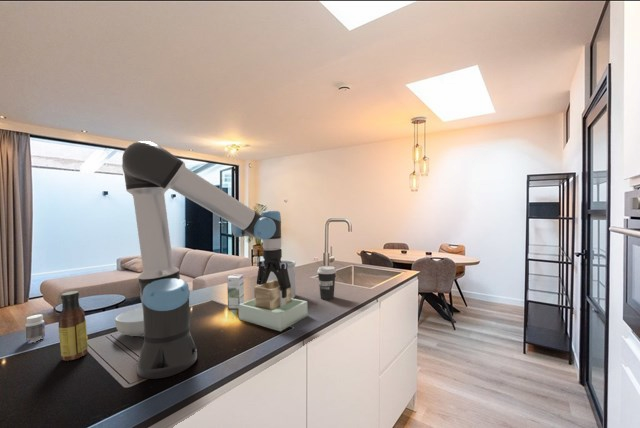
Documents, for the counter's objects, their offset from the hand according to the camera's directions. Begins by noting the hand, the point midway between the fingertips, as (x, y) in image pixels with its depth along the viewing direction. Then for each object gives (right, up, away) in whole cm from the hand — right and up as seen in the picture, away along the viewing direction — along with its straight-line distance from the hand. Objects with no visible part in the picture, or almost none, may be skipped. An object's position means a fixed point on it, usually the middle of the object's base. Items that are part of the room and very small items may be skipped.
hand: (273, 303), depth 114 cm
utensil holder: (-1, -5, +27) cm, 28 cm away
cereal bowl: (-46, -7, -12) cm, 48 cm away
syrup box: (-19, -6, +13) cm, 24 cm away
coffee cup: (+23, -5, +24) cm, 33 cm away
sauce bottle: (-56, -7, -29) cm, 64 cm away
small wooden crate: (0, 0, 0) cm, 0 cm away
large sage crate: (0, -6, 0) cm, 6 cm away
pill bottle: (-80, -7, -17) cm, 82 cm away
